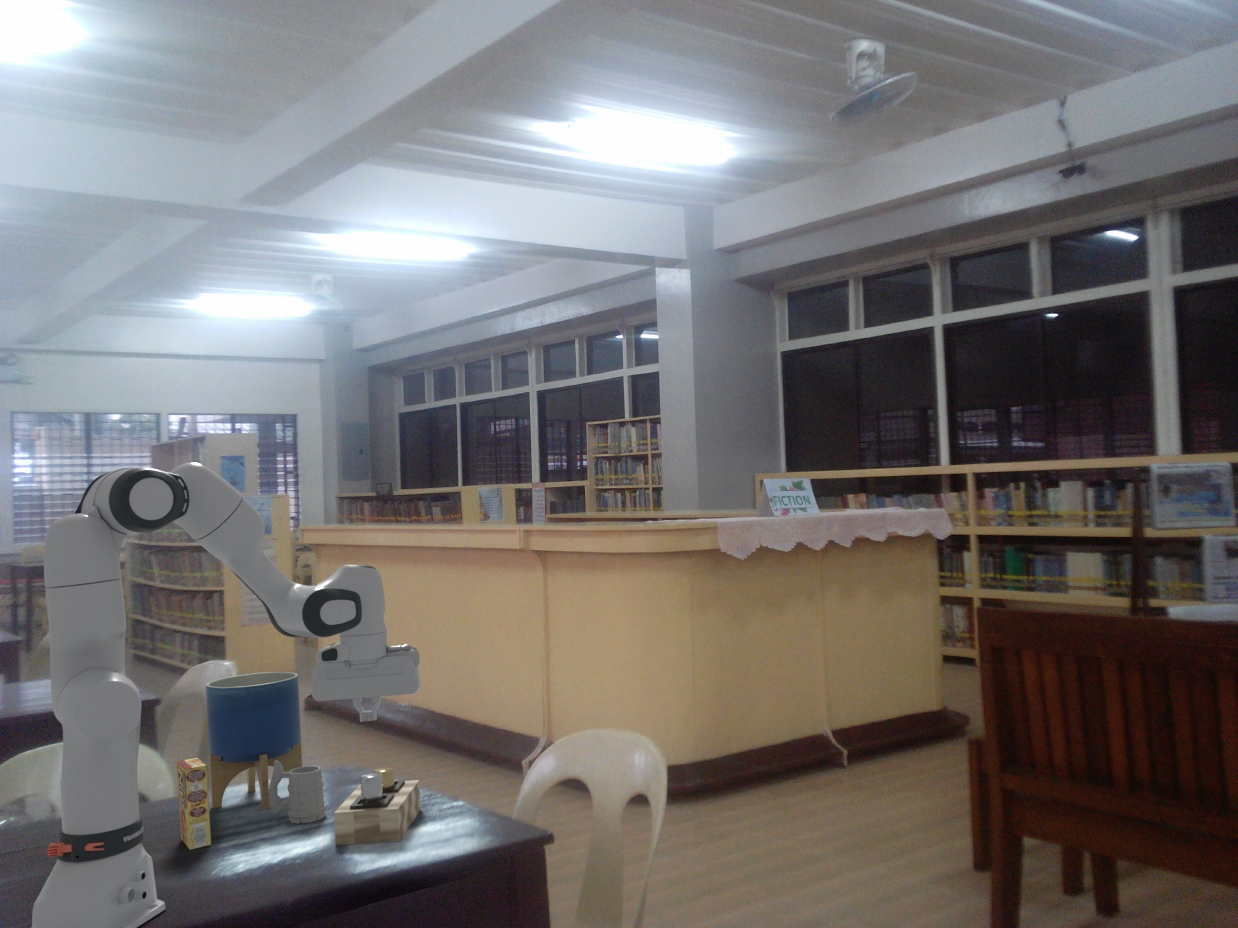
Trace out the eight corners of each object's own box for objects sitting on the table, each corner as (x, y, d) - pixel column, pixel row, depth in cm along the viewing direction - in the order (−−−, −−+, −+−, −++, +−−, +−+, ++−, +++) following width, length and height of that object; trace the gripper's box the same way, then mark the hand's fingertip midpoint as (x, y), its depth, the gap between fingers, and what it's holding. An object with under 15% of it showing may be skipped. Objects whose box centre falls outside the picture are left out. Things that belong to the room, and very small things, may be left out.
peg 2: (393, 805, 207) (391, 772, 208) (372, 806, 207) (371, 773, 208) (397, 799, 211) (395, 767, 212) (377, 800, 211) (375, 768, 212)
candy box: (212, 845, 199) (208, 764, 199) (188, 850, 196) (184, 768, 197) (202, 834, 206) (198, 756, 207) (179, 839, 204) (175, 760, 204)
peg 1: (380, 812, 197) (379, 777, 198) (359, 813, 197) (357, 779, 198) (385, 806, 201) (383, 772, 202) (365, 807, 201) (363, 773, 202)
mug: (318, 823, 209) (315, 762, 209) (261, 825, 210) (258, 765, 210) (332, 811, 217) (329, 753, 217) (277, 813, 218) (274, 755, 218)
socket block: (399, 841, 194) (397, 805, 194) (335, 844, 194) (333, 809, 195) (420, 809, 214) (419, 776, 214) (362, 812, 214) (360, 780, 215)
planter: (218, 818, 217) (212, 690, 218) (206, 797, 234) (200, 679, 235) (312, 800, 227) (306, 678, 228) (294, 782, 243) (288, 668, 244)
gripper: (420, 641, 204) (425, 712, 204) (315, 649, 203) (319, 721, 203) (416, 646, 198) (420, 719, 198) (307, 654, 197) (311, 728, 196)
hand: (368, 720), depth 200 cm, fingers closed
